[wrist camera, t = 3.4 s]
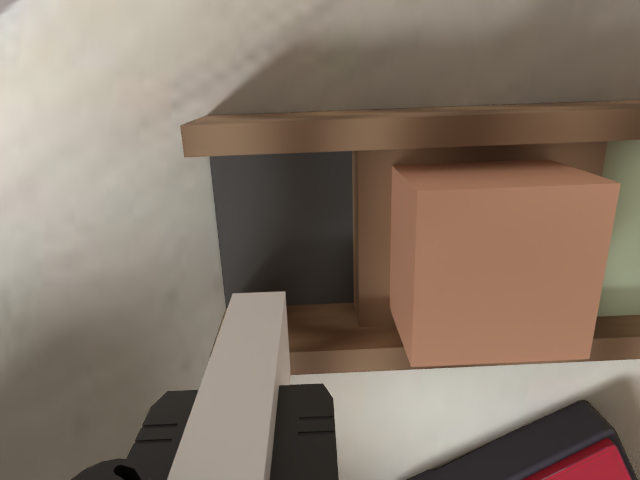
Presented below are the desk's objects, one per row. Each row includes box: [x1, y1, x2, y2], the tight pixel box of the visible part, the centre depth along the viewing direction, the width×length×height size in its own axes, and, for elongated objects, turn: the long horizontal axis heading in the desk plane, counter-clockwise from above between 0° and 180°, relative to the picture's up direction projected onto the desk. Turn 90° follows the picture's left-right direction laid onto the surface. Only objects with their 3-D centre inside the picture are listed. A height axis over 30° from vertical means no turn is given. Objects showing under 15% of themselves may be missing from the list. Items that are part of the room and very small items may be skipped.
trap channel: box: [180, 100, 640, 375], centre depth 23 cm, size 36×11×5 cm, turn 92°
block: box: [390, 159, 621, 367], centre depth 20 cm, size 7×7×5 cm
